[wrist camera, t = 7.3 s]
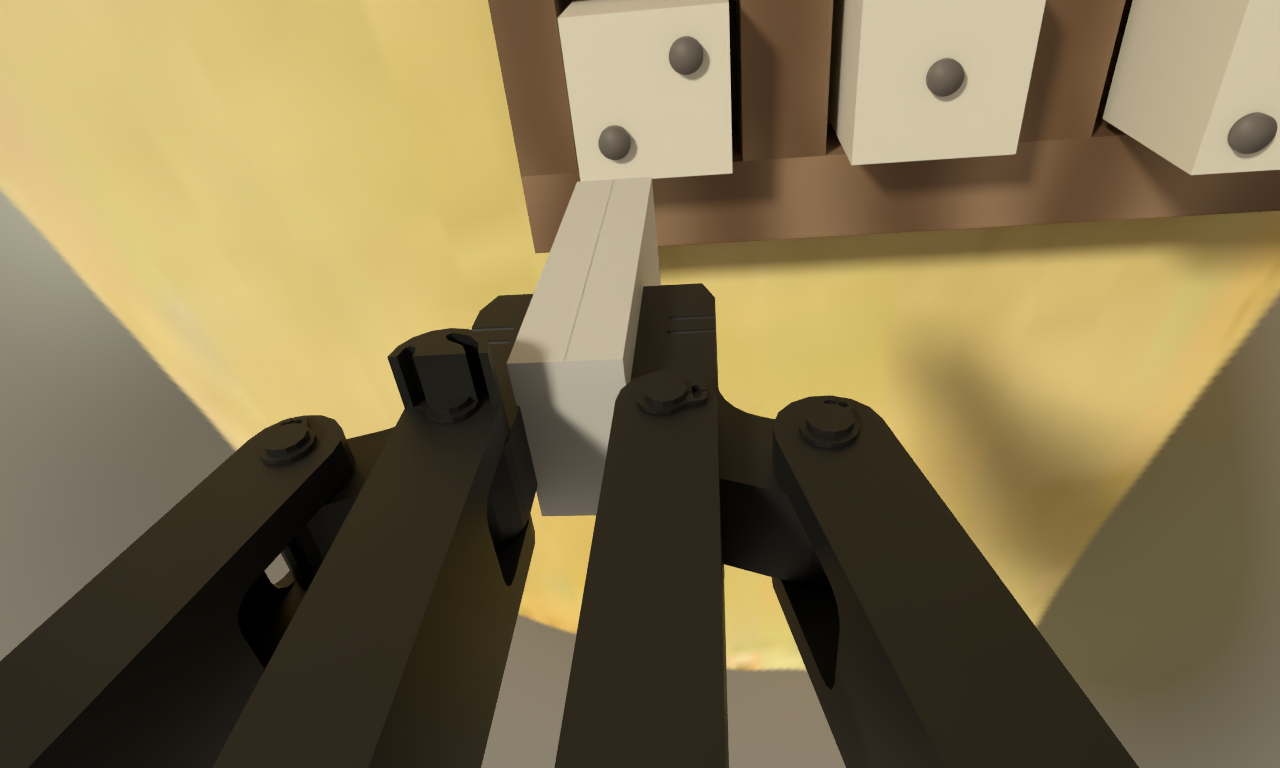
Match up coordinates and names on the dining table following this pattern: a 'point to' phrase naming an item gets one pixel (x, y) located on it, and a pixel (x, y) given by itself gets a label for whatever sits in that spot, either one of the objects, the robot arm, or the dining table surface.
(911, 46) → the cream block
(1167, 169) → the keyboard base
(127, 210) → the dining table surface
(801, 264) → the dining table surface
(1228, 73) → the key three
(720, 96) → the key two
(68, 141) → the dining table surface
